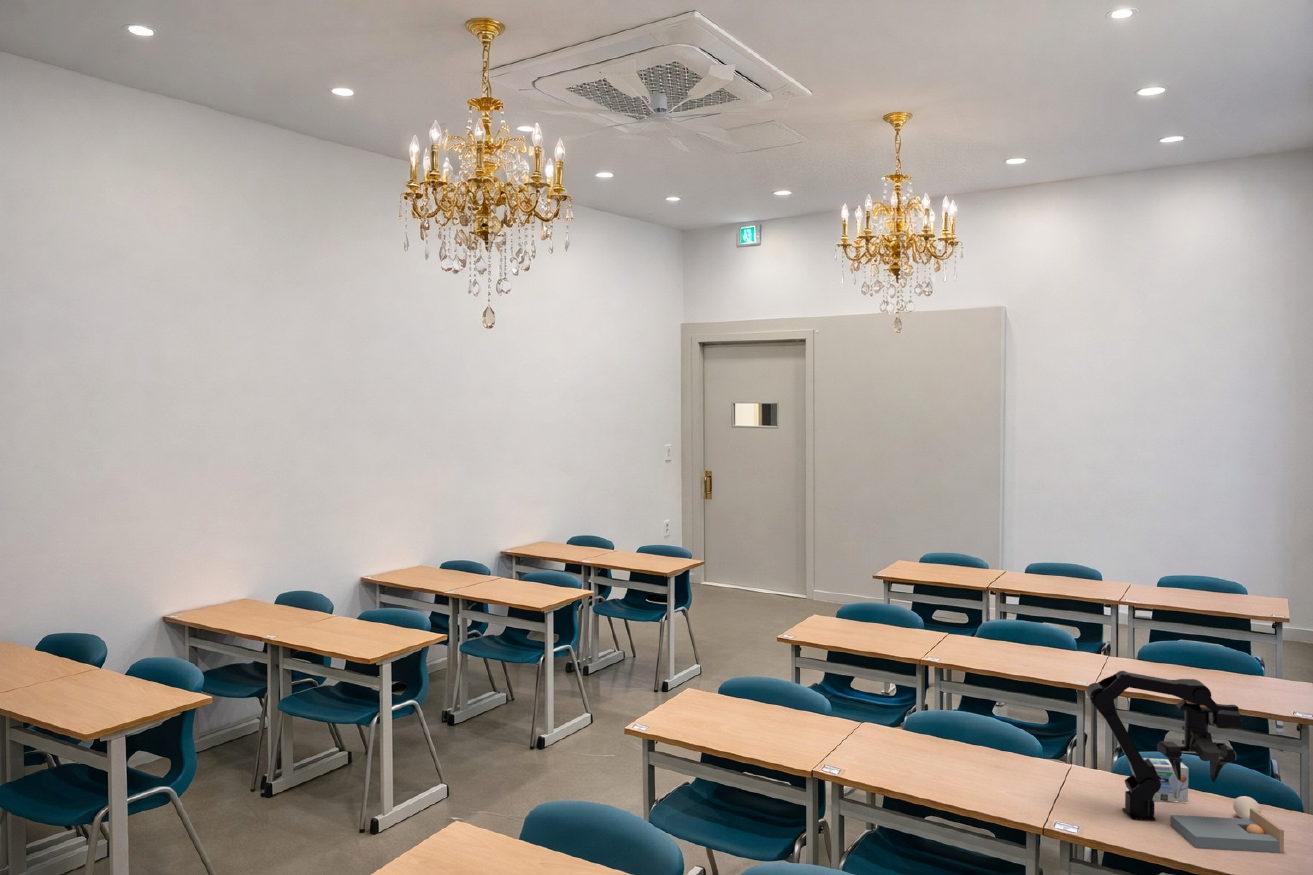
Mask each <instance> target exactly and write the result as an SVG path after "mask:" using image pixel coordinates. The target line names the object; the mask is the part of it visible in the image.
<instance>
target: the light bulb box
mask: <svg viewBox="0 0 1313 875" xmlns="http://www.w3.org/2000/svg"><path fill="white" fill-rule="evenodd" d="M1142 758H1143V759H1144V760H1146V759H1148V758H1149V757H1142ZM1149 760H1150V761H1151V762H1152V764H1153V765H1154V767H1155V770H1156V772H1157V773H1158V774H1159V776H1160V777H1161V779H1159V780H1160V782H1161V788H1160V790H1159V791H1158V792H1157V793H1155V795H1154V797H1153V801H1154V802H1163V801H1178V802H1188V803H1189V800H1188V799H1189V769H1190V768H1189V767H1188V766H1186V765H1185V763H1183V762H1181V780H1178V779H1177V777H1176V775H1175V773H1174V770H1173V768H1172V766H1171V763H1170V762H1169V760H1168V758H1167V759H1166V758H1151V757H1150V758H1149Z"/></svg>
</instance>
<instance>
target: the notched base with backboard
mask: <svg viewBox="0 0 1313 875" xmlns="http://www.w3.org/2000/svg"><path fill="white" fill-rule="evenodd" d="M1169 821H1170V826H1171V828H1173V829H1174V830H1175V831H1176V832H1177V833H1178V834H1179V835H1180V836H1182V837H1183V838H1184V839H1185V840H1187V842H1189V844H1191V845H1192V846H1193V847H1194V848H1196V849H1211V850H1225V851H1226V850H1228V851H1242V852H1244V851H1245V852H1263V853H1279V854H1284V852H1285V830H1284V829H1283V828H1282V827H1281V826H1279V825H1278V824H1276V823H1275V822H1273V821H1272V820H1270V819H1269V818H1267V817H1266V816H1265V815H1264V814H1262V813H1261V812H1260V813H1259V812H1258V811H1256V810H1255V809H1253V808H1250V819H1242V818H1240V817H1239V818H1236V817H1218V816H1217V817H1215V816H1202V815H1201V816H1200V815H1199V816H1198V815H1197V816H1196V815H1179V814H1170V820H1169ZM1251 824H1255V825H1258V826H1260V827H1261V828H1262V829H1263V831H1264V834H1250V833H1248V832H1247V831H1246V829H1247V827H1248V826H1249V825H1251Z"/></svg>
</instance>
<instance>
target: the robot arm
mask: <svg viewBox="0 0 1313 875" xmlns="http://www.w3.org/2000/svg"><path fill="white" fill-rule="evenodd" d="M1129 688H1131V689H1136V690H1142V691H1147V692H1151V693H1153V692H1154V693H1156V694H1157V693H1158V694H1164V695H1171V696H1173V697H1176V698H1179V699H1181V701H1180V702H1178V703H1176V704H1175V706H1176V707H1177V708H1178V709H1179V710H1181V711H1184V725H1182V726H1181V730H1183V731H1184V735H1183V736H1184V739H1182V740H1181V744H1182V745H1178V744H1176V743H1175V742H1174V741H1169V740H1168V741H1166V740H1164V741H1163V740H1161V741H1160V740H1159V742H1158V743H1157V746H1156V750H1157V751H1158V752H1159V754H1162V755H1163V756H1164V757H1166V758H1167V759H1168V760H1169V762H1170V763H1171V766H1172V768H1173V770H1174V773H1175V775H1176V777H1177V779H1178V780H1181V763H1183V762H1182V761H1183V759H1182V758H1181V756H1182V755H1183V754H1189V755H1190V754H1191V755H1192V754H1193V755H1197V756H1198V757H1199V759H1200V761H1202V762H1209V771H1210V772H1209V774H1210V775H1209V776H1210V780H1211V782H1213V783H1215V782H1216V781H1217V778H1218V777H1219V774H1220V773H1221V770H1222V768H1223V767H1224V766H1225V765H1227V764H1231V763H1232V761H1233V762H1234V761H1235V762H1236V761H1237V752H1236V751H1235V750H1234V749H1233V748H1232V747H1230V746H1228V745H1227V744H1226V743H1225V742H1216V741H1214V742H1213V739H1212V738H1213V736H1212V733H1211V732H1210V731H1209V724H1210V725H1213V726H1214V728H1215V729H1220V730H1221V729H1222V730H1231V731H1241V730H1242V726H1243V721H1242V717H1241V714H1240V711H1239V710H1240V709H1239V708H1240V707H1239V706H1237V705H1236V704H1223V703H1217V702H1215V700H1213V698H1212V692H1211V689H1209V687H1207V686H1206V685H1205V684H1204V683H1202V682H1201V681H1200V680H1198V679H1195V678H1194V679H1191V678H1179V679H1167V678H1162V677H1158V676H1157V677H1156V676H1150V675H1145V674H1139V673H1135V672H1134V673H1133V672H1128V671H1126V670H1119V671H1117V672H1116V673H1114V674H1113V675H1110V676H1107V677H1105V678H1102V679H1101V680H1100V681H1098V682H1092V683H1090V684H1089V685H1088V686H1087V687H1086V691H1085V693H1086V696H1087V697H1088V699H1089V700H1090V702H1091V703H1092V705H1093V706H1094V708H1095V709H1096V710H1097V711H1098V712H1099V714H1101V716H1102V717H1103V718H1104V720H1105V721H1106V723H1107V725H1108V727H1109V728H1110V730H1111V733H1112V735H1113V736H1114V737H1115V740H1116V741H1117V743H1118V745H1119V746H1120V748H1121V749H1122V751H1123V753H1124V755H1125V757H1126V758H1127V761H1128V766H1129V769H1130V771H1131V775H1130V776H1128V777H1127V778H1126V779H1124V784H1125V786H1126V788H1127V790H1125V792H1124V794H1125V795H1124V797H1125V799H1124V802H1125V803H1124V807H1122V809H1121V810H1122V811H1123V812H1124V813H1125V814H1126V815H1127V816H1128V817H1129V818H1131V819H1132V820H1138V821H1139V820H1141V821H1156V820H1157V819H1156V817H1154V816H1155V801H1153V797H1154V795H1155V793H1157V792H1158V791H1159V790H1160V788H1161V782H1160V780H1159V779H1161V777H1160V776H1159V774H1158V773H1157V772H1156V770H1155V767H1154V765H1153V764H1152V762H1151V761H1150V760H1149V757H1147V758H1148V759H1146V760H1144V759H1143V758H1144V757H1142V755H1141V753H1140V752H1139V750H1138V747H1136V745H1135V743H1134V741H1133V739H1132V738H1131V736H1130V734H1129V732H1128V731H1127V729H1126V727H1125V725H1124V723H1123V722H1122V721H1121V718H1120V716H1119V715H1118V711H1117V708H1116V704H1115V702H1114V700H1115V699H1117V698H1118V697H1120V695H1122V694H1123V693H1124V692H1125V691H1126V690H1127V689H1129Z"/></svg>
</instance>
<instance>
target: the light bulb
mask: <svg viewBox="0 0 1313 875" xmlns="http://www.w3.org/2000/svg"><path fill="white" fill-rule="evenodd" d="M1232 806H1233V811H1234V812H1235V814H1236V815H1237V816H1238V817H1239V819H1250V808H1253V809H1255V810H1256V811H1258V812H1259V813H1261V807H1260V805H1259V803H1258V801H1256V800H1255V799H1254V798H1253V797H1250V796H1245V795H1243V796H1238V797H1236V798H1235V799H1234V800H1233V805H1232Z"/></svg>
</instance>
